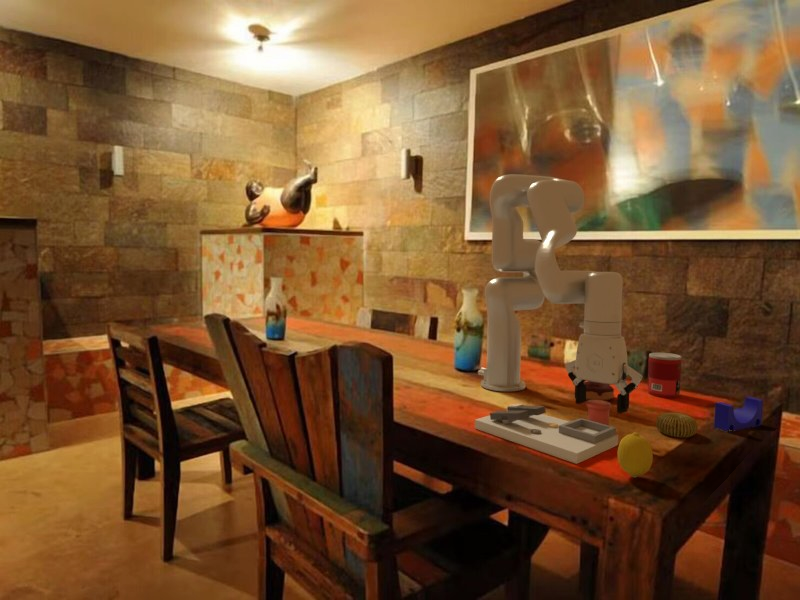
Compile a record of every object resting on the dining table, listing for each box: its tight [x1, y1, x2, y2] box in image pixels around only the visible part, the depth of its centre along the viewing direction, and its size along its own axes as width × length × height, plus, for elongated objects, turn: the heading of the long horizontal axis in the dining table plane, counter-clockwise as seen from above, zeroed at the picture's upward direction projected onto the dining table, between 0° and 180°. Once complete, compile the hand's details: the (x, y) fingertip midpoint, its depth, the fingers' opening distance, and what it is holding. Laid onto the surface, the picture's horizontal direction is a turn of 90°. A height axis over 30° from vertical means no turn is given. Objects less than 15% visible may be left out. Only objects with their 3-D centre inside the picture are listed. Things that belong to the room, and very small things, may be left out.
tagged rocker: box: [506, 403, 547, 417], centre depth 116 cm, size 8×3×3 cm, turn 39°
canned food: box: [646, 352, 683, 399], centre depth 144 cm, size 8×8×11 cm
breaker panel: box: [474, 409, 619, 465], centre depth 110 cm, size 25×15×4 cm, turn 40°
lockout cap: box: [586, 400, 612, 426], centre depth 115 cm, size 5×5×6 cm
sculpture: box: [655, 412, 699, 439], centre depth 113 cm, size 8×4×8 cm
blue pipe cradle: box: [713, 396, 764, 432], centre depth 118 cm, size 12×4×6 cm, turn 115°
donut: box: [584, 381, 615, 401], centre depth 141 cm, size 10×10×4 cm
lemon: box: [616, 431, 654, 479], centre depth 90 cm, size 6×6×8 cm
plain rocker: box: [489, 410, 529, 424], centre depth 112 cm, size 8×3×2 cm, turn 39°
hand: (600, 407), depth 114 cm, fingers open, 9 cm apart
